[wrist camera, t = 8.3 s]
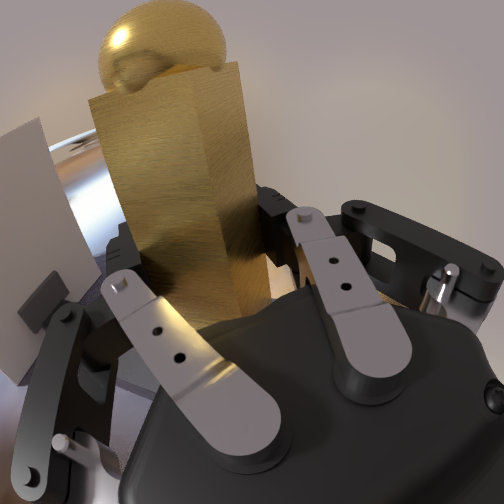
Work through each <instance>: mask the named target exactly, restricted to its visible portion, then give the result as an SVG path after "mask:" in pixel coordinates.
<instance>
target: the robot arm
mask: <svg viewBox="0 0 504 504" xmlns="http://www.w3.org/2000/svg"><path fill="white" fill-rule="evenodd" d="M256 189H257V196H258V203H259V204H258V206H259V213H260V221H261V228H262V235H263V242H264V250H265V254H266V255H267V256H268V257H269V258H270V260H271V261H272V262H273V263H274V264H275V266H276V267H277V268H278V267H280V266H283V265H285V264H287V265H288V266H289V267H290V274H291V278H292V282H293V285H294V288H295V291H293V292H290V293H288V294H286V295H283V296H281V297H279V298H278V299H277V300H275V301H274V302H272V303H271V304H269V305H268V306H267V307H265V308H264V309H262V310H261V311H259V312H258V313H256V314H254V315H251V316H247V317H242V318H236V319H231V320H226V321H220V322H217V323H215V324H212V325H210V326H207V327H204V328H202V329H199V330H197V331H195V330H194V329H193V328H192V327H191V326H190V325H189V324H188V323H187V322H186V321H185V320H184V319H183V318H182V317H181V316H180V314H179V313H178V312H177V311H176V310H175V309H174V308H173V307H172V306H171V305H170V304H169V303H168V302H167V301H166V300H165V299H164V298H163V297H162V296H161V295H159V296H158V294H157V292H156V290H155V287H154V285H153V283H152V281H151V278H150V276H149V274H148V271H147V269H146V267H145V264H144V262H143V260H142V257H141V255H140V252H139V251H138V249H137V246H136V244H135V241H134V239H133V236H132V234H131V231H130V229H129V226H128V224H127V221H126V222H123V223H121V224H119V225H118V228H119V236H118V237H115V238H113V239H111V240H110V241H109V243H108V245H107V247H106V260H107V261H106V275H107V278H106V279H105V280H104V282H103V283H102V285H101V293H102V295H101V296H100V297H99V298H98V299H97V300H95V301H94V302H93V303H91V304H90V305H88V306H86V307H85V308H83V306H82V305H81V304H80V303H78V302H70V303H67V304H65V305H63V306H61V307H60V308H59V309H58V310H57V311H56V312H55V313H54V315H53V316H52V318H51V321H50V323H49V326H48V328H47V331H46V334H45V337H44V339H43V342H42V345H41V348H40V351H39V354H38V357H37V360H36V363H35V366H34V369H33V372H32V376H31V379H30V382H29V386H28V389H27V393H26V397H25V401H24V405H23V409H22V413H21V417H20V422H19V426H18V431H17V436H16V441H15V447H14V453H13V459H12V466H11V483H12V486H13V488H14V490H15V492H16V493H17V494H18V496H20V497H21V498H22V499H24V500H26V501H29V502H31V503H34V504H504V385H503V384H502V383H501V382H500V381H499V380H498V379H497V377H496V375H495V374H494V372H493V370H492V369H491V367H490V365H489V362H488V360H487V358H486V355H485V352H484V350H483V347H482V344H481V342H480V341H479V339H478V337H477V336H476V333H477V331H478V329H479V327H480V326H481V324H482V322H483V321H484V320H485V318H486V317H487V315H488V313H489V311H490V309H491V307H492V305H493V303H494V301H495V299H496V297H497V293H498V291H499V289H500V287H501V285H502V282H503V280H504V268H503V266H502V265H501V264H500V263H499V262H498V261H497V260H495V259H494V258H492V257H490V256H488V255H486V254H484V253H482V252H480V251H478V250H476V249H474V248H472V247H470V246H468V245H466V244H464V243H462V242H460V241H458V240H455V239H454V238H451V237H449V236H447V235H445V234H443V233H440V232H438V231H436V230H434V229H432V228H429V227H427V226H425V225H423V224H420V223H418V222H416V221H413V220H411V219H409V218H406V217H404V216H401V215H399V214H397V213H394V212H392V211H389V210H387V209H384V208H382V207H379V206H377V205H374V204H372V203H369V202H366V201H362V200H351V201H347V202H345V203H344V204H343V205H342V206H341V215H333V216H324V215H323V213H322V212H321V211H320V210H318V209H316V208H313V207H297V206H295V205H294V204H293V203H291V202H290V201H289V200H288V199H285V197H284V196H282V195H280V193H278V192H277V191H276V190H274V189H271V188H268V187H262V188H261V187H260V186H258V185H257V184H256ZM373 239H375V240H377V241H380V242H381V243H384V244H386V245H388V246H390V247H391V248H392V249H393V250H394V251H395V254H396V261H395V262H393V261H391V260H388V259H387V258H385V257H383V256H381V255H378V254H376V253H374V252H372V251H371V250H372V241H373ZM377 290H378V291H380V292H381V293H383V294H385V295H387V296H388V297H390V298H392V299H394V300H396V301H397V302H399V303H401V304H402V305H404V306H406V307H408V308H405V307H401V306H397V305H393V304H389V303H388V302H384V301H383V300H382V299H381V297H380V296H379V294H378V292H377ZM133 347H135V349H136V350H137V352H138V353H139V354H140V356H141V357H142V359H143V360H144V362H145V363H146V365H147V366H148V367H149V369H150V370H151V372H152V373H153V374H154V376H155V377H156V379H157V380H158V381H159V383H160V386H159V388H158V390H157V393H156V395H155V397H154V400H153V402H152V404H151V407H150V409H149V411H148V414H147V416H146V419H145V421H144V423H143V426H142V428H141V430H140V433H139V435H138V438H137V440H136V443H135V445H134V447H133V450H132V452H131V455H130V457H129V460H128V462H127V465H126V467H125V470H124V472H123V475H122V474H121V470H120V466H119V460H118V457H117V455H116V454H115V452H114V451H113V450H112V449H111V448H109V441H110V429H111V418H112V409H113V401H114V393H115V385H116V378H117V371H118V365H119V359H118V357H120V356H121V355H123V354H124V353H126V352H127V351H129V350H130V349H132V348H133ZM79 365H81V367H80V371H79V376H77V375H78V369H79Z"/></svg>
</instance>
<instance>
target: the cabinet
mask: <svg viewBox="0 0 504 504" xmlns="http://www.w3.org/2000/svg"><path fill="white" fill-rule="evenodd" d="M101 274H102V273H101V271H100V269H99V267H98V265H97V263H96V261H95V259H94V257H93V255H92V253H91V251H90V249H89V247H88V245H87V243H86V241H85V239H84V237H83V234H82V232H81V230H80V228H79V226H78V223H77V221H76V219H75V217H74V214H73V212H72V210H71V207H70V205H69V202H68V200H67V197H66V195H65V192H64V190H63V187H62V185H61V182H60V180H59V177H58V174H57V171H56V169H55V166H54V163H53V160H52V157H51V155H50V151H49V148H48V146H47V142H46V139H45V136H44V133H43V129H42V126H41V123H40V119H39V117H38V118H36V119H34V120H31V121H29V122H27V123H25V124H24V125H22V126H20V127H18V128H16V129H14V130H12V131H10V132H8V133H7V134H5V135H3V136H1V137H0V371H1V372H2V373H3V374H4V375H5V376H6V377H8V378H9V379H10V380H11V381H12V382H13V383H14V384H16V385H17V386H18V385H19V383H20V382H21V380H22V379H23V377H24V376H25V374H26V373H27V371H28V370H29V368H30V367H31V365H32V364H33V362H34V361H35V359H36V358H37V357H38V354H39V351H40V348H41V345H42V342H43V339H44V337H45V334H46V332H45V330H44V329H43V328H42V327H43V325H42V323H43V322H44V321H45V320H46V318H47V317H48V316H49V314H50V313H51V312H52V311H53V309H54V308H55V307H56V306H57V305H58V303H59V302H60V301H61V300H62V299H64V300H67V301H71V302H79V301H80V300H81V298H82V297H83V296H84V295H85V293H86V292H87V291H88V290H89V289H90V287H91V286H92V285H93V284H94V283H95V281H96V280H97V279H98V278H99V277H100V275H101Z"/></svg>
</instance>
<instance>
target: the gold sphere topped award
mask: <svg viewBox="0 0 504 504" xmlns="http://www.w3.org/2000/svg"><path fill="white" fill-rule="evenodd" d="M225 61H226V42H225V38H224V35H223V33H222V30H221V28H220V26H219V25H218V23H217V22H216V20H215V19H214V18H213V17H212V16H211V15H210V14H209V13H208V12H207V11H205V10H204V9H202V8H201V7H199V6H197V5H195V4H192V3H190V2H187V1H183V0H153V1H149V2H146V3H143V4H141V5H139V6H136V7H134V8H132V9H131V10H130V11H128V12H126V13H125V14H124V15H123V16H121V17H120V18H119V19H118V20H117V21H116V22H115V23H114V24H113V25H112V27H111V28H110V29H109V31H108V32H107V34H106V36H105V38H104V40H103V42H102V45H101V48H100V52H99V58H98V69H99V75H100V78H101V82H102V84H103V86H104V88H105V90H106V92H107V93H106V94H103V95H101V96H98V97H95V98H92V99H90V100H88V101H89V106H90V109H91V113H92V117H93V121H94V124H95V128H96V131H97V135H98V138H99V142H100V145H101V148H102V151H103V155H104V158H105V161H106V164H107V167H108V170H109V173H110V176H111V179H112V182H113V185H114V188H115V191H116V194H117V197H118V199H119V202H120V205H121V208H122V210H123V213H124V216H125V218H126V221H127V224H128V226H129V229H130V231H131V234H132V236H133V239H134V241H135V244H136V246H137V249H138V251H139V252H140V255H141V257H142V260H143V262H144V264H145V267H146V269H147V271H148V274H149V276H150V278H151V281H152V283H153V285H154V287H155V290H156V292H157V294H158V296H159V295H161V296H162V297H163V298H164V299H165V300H166V301H167V302H168V303H169V304H170V305H171V306H172V307H173V308H174V309H175V310H176V311H177V312H178V313H179V314H180V316H181V317H182V318H183V319H184V320H185V321H186V322H187V323H188V324H189V325H190V326H191V327H192V328H193V329H194V330H195V331H197V330H199V329H202V328H204V327H207V326H210V325H212V324H215V323H217V322H220V321H226V320H231V319H236V318H242V317H247V316H251V315H254V314H256V313H258V312H259V311H261V310H262V309H264V308H265V307H267V306H268V305H269V304H271V303H272V302H274V301H275V300H277V299H272V298H271V292H270V284H269V277H268V269H267V262H266V254H265V250H264V242H263V235H262V228H261V221H260V213H259V206H258V204H259V203H258V196H257V189H256V182H255V175H254V168H253V161H252V155H251V148H250V141H249V134H248V127H247V120H246V114H245V107H244V101H243V94H242V87H241V81H240V74H239V68H238V62H231V63H225ZM118 359H119V365H118V371H117V378H116V385H115V386H117V387H120V388H122V389H125V390H127V391H130V392H132V393H135V394H137V395H140V396H142V397H145V398H148V399H150V400H154V397H155V395H156V393H157V390H158V388H159V386H160V383H159V381H158V380H157V379H156V377H155V376H154V374H153V373H152V372H151V370H150V369H149V367H148V366H147V365H146V363H145V362H144V360H143V359H142V357H141V356H140V354H139V353H138V352H137V350H136V349H135V347H133V348H132V349H130V350H129V351H127V352H126V353H124V354H123V355H121V356H120V357H118Z"/></svg>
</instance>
